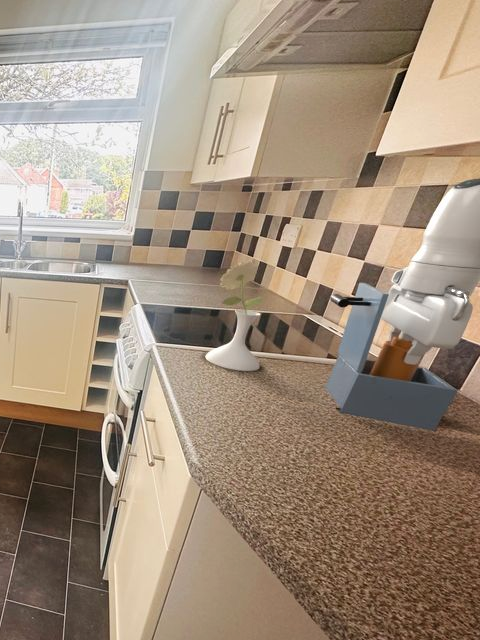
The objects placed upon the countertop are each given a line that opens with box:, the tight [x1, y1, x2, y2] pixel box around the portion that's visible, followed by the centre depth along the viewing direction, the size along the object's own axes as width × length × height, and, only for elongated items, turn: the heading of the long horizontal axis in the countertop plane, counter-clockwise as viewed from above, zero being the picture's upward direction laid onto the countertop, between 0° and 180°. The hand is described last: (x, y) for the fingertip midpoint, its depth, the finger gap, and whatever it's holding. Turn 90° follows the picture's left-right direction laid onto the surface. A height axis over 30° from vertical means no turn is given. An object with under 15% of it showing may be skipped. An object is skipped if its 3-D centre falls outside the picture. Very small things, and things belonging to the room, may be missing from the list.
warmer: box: [324, 354, 458, 432], centre depth 80 cm, size 14×12×9 cm
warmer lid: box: [329, 282, 389, 372], centre depth 79 cm, size 14×12×5 cm
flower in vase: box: [205, 260, 264, 372], centre depth 96 cm, size 13×11×25 cm
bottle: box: [369, 331, 426, 381], centre depth 78 cm, size 6×6×18 cm
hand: (400, 356), depth 77 cm, fingers closed on bottle, 5 cm apart
